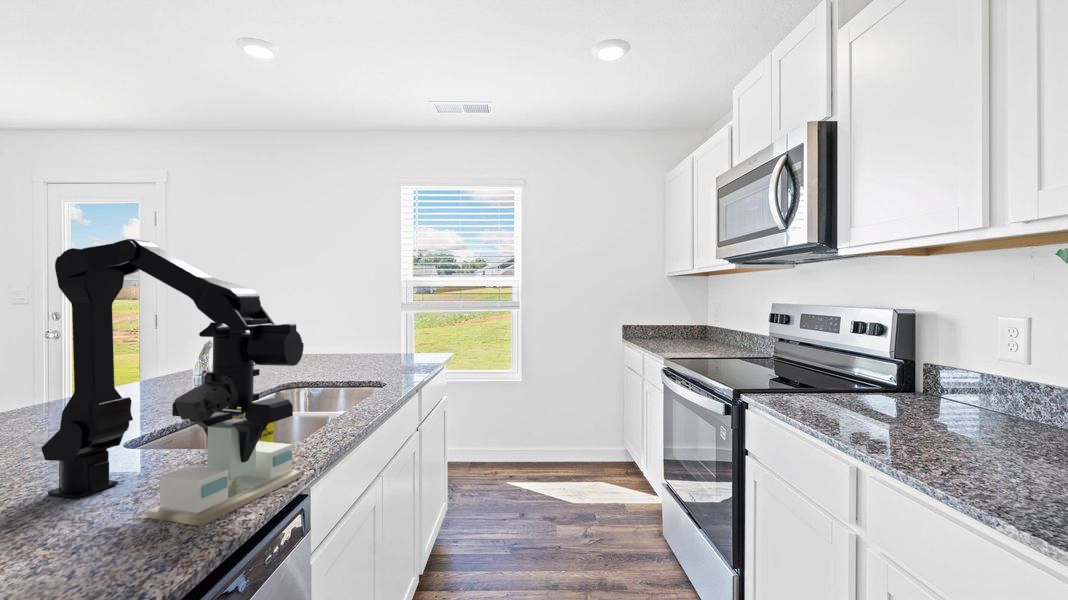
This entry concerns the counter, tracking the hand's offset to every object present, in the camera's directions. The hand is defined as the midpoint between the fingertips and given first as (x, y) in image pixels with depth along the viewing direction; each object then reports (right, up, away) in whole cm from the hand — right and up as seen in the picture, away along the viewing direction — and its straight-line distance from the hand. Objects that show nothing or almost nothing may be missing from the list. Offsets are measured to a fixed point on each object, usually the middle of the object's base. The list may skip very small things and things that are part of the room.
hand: (232, 460), depth 80 cm
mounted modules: (0, -4, 0) cm, 4 cm away
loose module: (0, -2, 0) cm, 2 cm away
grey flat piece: (0, -6, 0) cm, 6 cm away
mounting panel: (0, -6, 0) cm, 6 cm away
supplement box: (-7, -6, +17) cm, 19 cm away
